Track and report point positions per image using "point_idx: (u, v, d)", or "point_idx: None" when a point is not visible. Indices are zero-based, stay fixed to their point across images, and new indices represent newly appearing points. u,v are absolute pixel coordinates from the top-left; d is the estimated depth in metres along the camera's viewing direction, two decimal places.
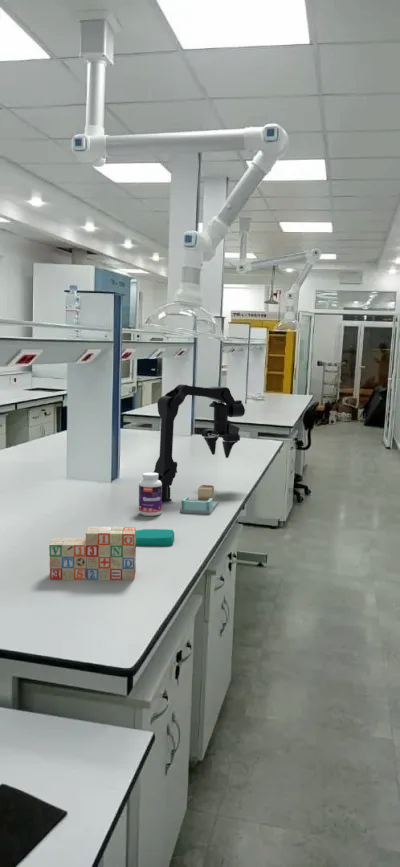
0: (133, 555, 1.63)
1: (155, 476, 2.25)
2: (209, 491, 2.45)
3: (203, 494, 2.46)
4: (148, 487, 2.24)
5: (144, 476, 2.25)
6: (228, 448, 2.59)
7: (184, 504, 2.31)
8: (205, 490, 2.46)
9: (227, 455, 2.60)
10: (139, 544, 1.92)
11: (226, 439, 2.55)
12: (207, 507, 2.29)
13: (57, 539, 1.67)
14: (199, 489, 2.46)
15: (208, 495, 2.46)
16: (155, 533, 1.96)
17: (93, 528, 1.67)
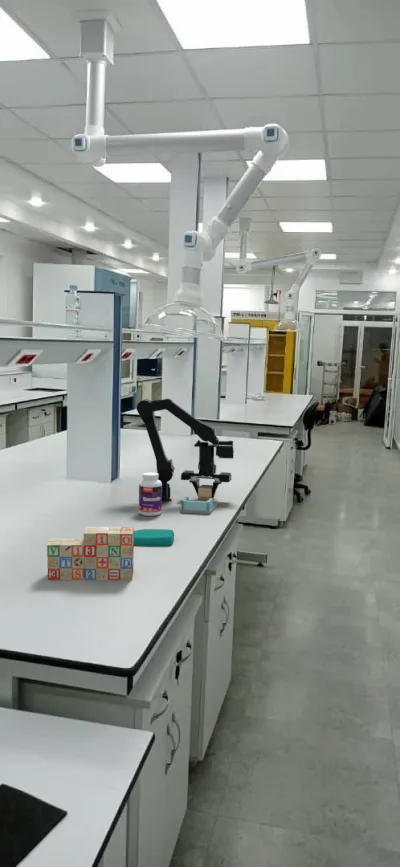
0: (131, 555, 1.63)
1: (155, 476, 2.25)
2: (209, 491, 2.45)
3: (203, 494, 2.46)
4: (148, 487, 2.24)
5: (144, 476, 2.25)
6: (215, 489, 2.47)
7: (184, 504, 2.31)
8: (205, 490, 2.46)
9: None
10: (138, 544, 1.92)
11: (225, 480, 2.43)
12: (207, 507, 2.29)
13: (55, 539, 1.67)
14: (199, 489, 2.46)
15: (208, 495, 2.46)
16: (154, 533, 1.97)
17: (90, 528, 1.67)
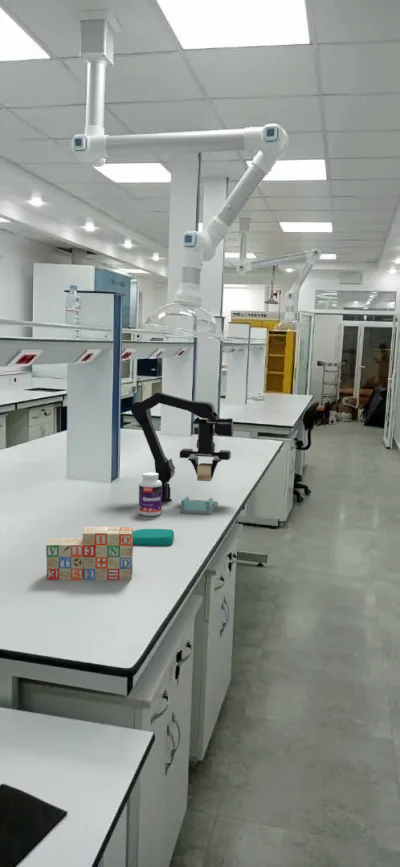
0: (130, 555, 1.63)
1: (155, 476, 2.25)
2: (208, 469, 2.42)
3: (202, 472, 2.43)
4: (148, 487, 2.24)
5: (144, 476, 2.25)
6: (215, 467, 2.44)
7: (184, 504, 2.31)
8: (204, 468, 2.42)
9: (213, 474, 2.45)
10: (138, 543, 1.92)
11: (225, 457, 2.40)
12: (207, 507, 2.29)
13: (54, 539, 1.66)
14: (198, 467, 2.43)
15: (207, 473, 2.42)
16: (154, 533, 1.97)
17: (90, 528, 1.66)
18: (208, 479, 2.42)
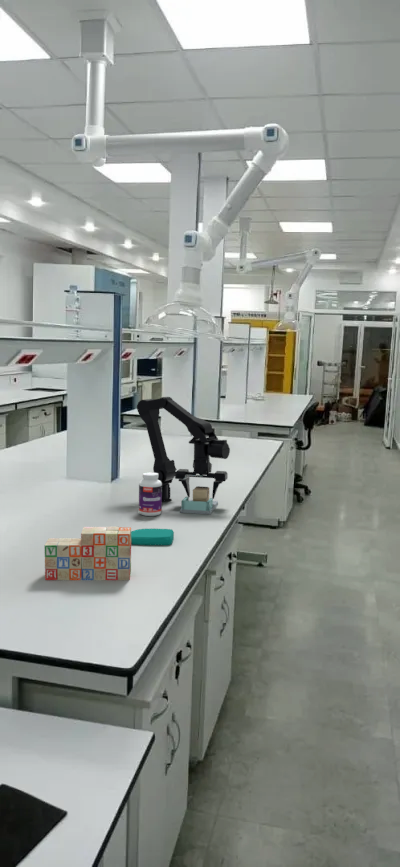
0: (128, 555, 1.63)
1: (155, 476, 2.25)
2: (204, 493, 2.37)
3: (198, 496, 2.37)
4: (148, 487, 2.24)
5: (144, 476, 2.25)
6: (216, 488, 2.38)
7: (184, 504, 2.31)
8: (200, 492, 2.37)
9: (214, 496, 2.39)
10: (138, 543, 1.93)
11: (221, 479, 2.34)
12: (207, 507, 2.29)
13: (53, 539, 1.66)
14: (194, 491, 2.37)
15: (203, 497, 2.37)
16: (154, 532, 1.97)
17: (88, 528, 1.66)
18: None
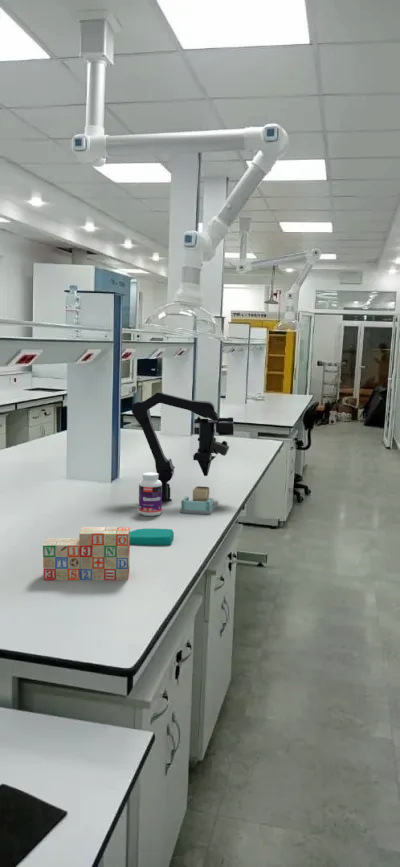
0: (127, 555, 1.63)
1: (155, 476, 2.25)
2: (204, 493, 2.37)
3: (198, 496, 2.37)
4: (148, 487, 2.24)
5: (144, 476, 2.25)
6: (203, 466, 2.45)
7: (184, 504, 2.31)
8: (200, 492, 2.37)
9: (205, 473, 2.46)
10: (138, 543, 1.93)
11: None
12: (207, 507, 2.29)
13: (51, 539, 1.66)
14: (194, 491, 2.37)
15: (203, 497, 2.37)
16: (154, 532, 1.97)
17: (86, 528, 1.66)
18: None
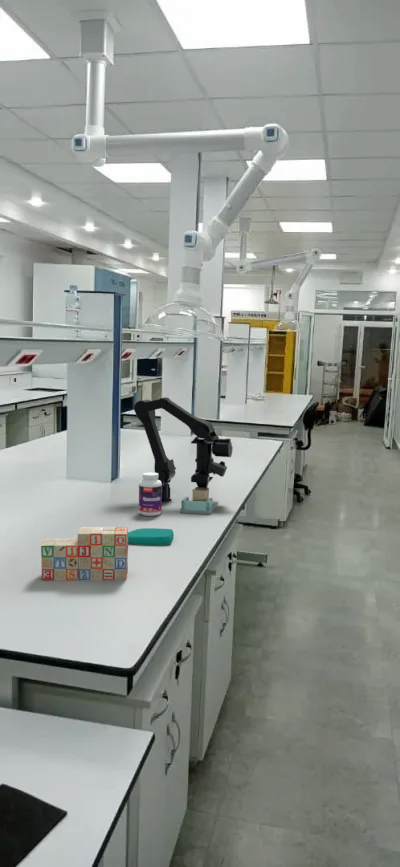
0: (125, 555, 1.63)
1: (155, 476, 2.25)
2: (204, 493, 2.35)
3: (197, 497, 2.36)
4: (148, 487, 2.24)
5: (144, 476, 2.25)
6: None
7: (184, 504, 2.31)
8: (200, 492, 2.36)
9: None
10: (137, 543, 1.93)
11: None
12: (207, 507, 2.29)
13: (49, 539, 1.66)
14: (193, 491, 2.36)
15: (203, 497, 2.36)
16: (154, 532, 1.97)
17: (85, 528, 1.66)
18: None
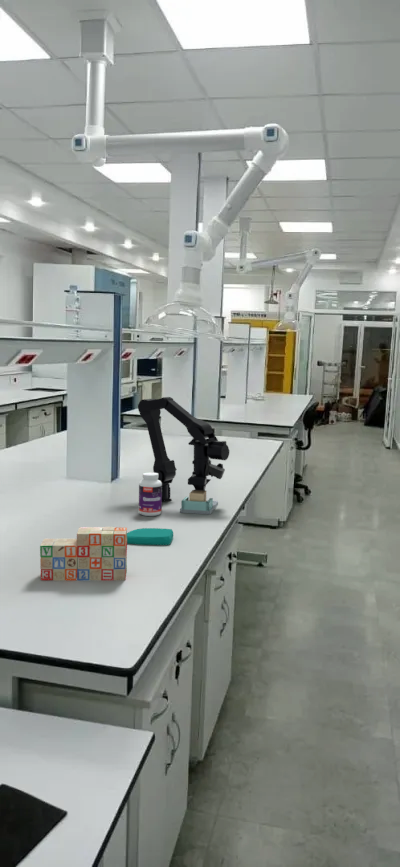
0: (124, 555, 1.63)
1: (155, 476, 2.25)
2: (201, 496, 2.31)
3: (194, 500, 2.32)
4: (148, 487, 2.24)
5: (144, 476, 2.25)
6: (199, 489, 2.38)
7: (184, 504, 2.31)
8: (197, 495, 2.31)
9: None
10: (137, 543, 1.93)
11: None
12: (207, 507, 2.29)
13: (48, 539, 1.66)
14: (190, 494, 2.32)
15: (200, 500, 2.31)
16: (153, 532, 1.97)
17: (84, 528, 1.66)
18: None
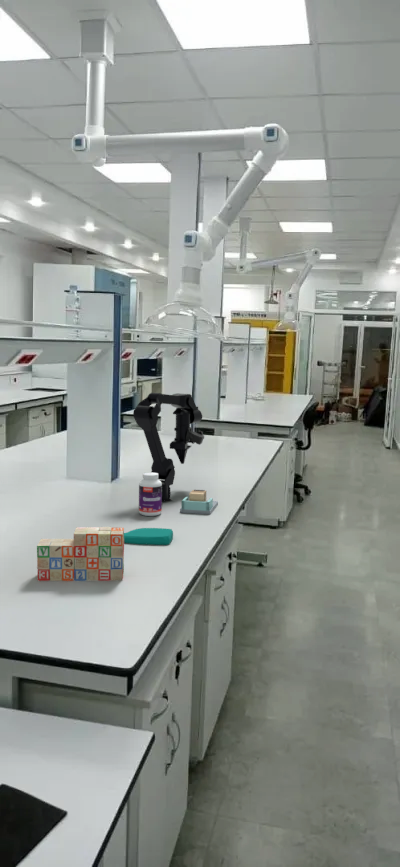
0: (121, 555, 1.63)
1: (155, 476, 2.25)
2: (201, 496, 2.31)
3: (194, 500, 2.32)
4: (148, 487, 2.24)
5: (144, 476, 2.25)
6: (180, 454, 2.59)
7: (184, 504, 2.31)
8: (197, 495, 2.31)
9: (181, 461, 2.60)
10: (137, 542, 1.93)
11: None
12: (207, 507, 2.29)
13: (45, 540, 1.66)
14: (190, 494, 2.32)
15: (200, 500, 2.31)
16: (153, 532, 1.98)
17: (80, 528, 1.66)
18: None
